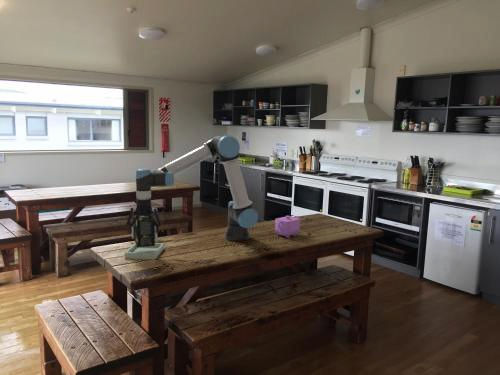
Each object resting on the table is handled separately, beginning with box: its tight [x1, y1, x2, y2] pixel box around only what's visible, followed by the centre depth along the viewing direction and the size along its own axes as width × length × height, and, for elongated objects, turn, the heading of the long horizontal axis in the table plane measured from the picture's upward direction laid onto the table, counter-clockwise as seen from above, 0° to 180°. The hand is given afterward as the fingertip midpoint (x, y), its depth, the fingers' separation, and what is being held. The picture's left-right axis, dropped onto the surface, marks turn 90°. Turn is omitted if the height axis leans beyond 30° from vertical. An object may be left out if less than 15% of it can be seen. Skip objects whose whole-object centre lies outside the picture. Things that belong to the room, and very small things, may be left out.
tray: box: [124, 242, 165, 260], centre depth 228 cm, size 16×18×3 cm
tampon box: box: [134, 215, 156, 247], centre depth 227 cm, size 11×9×15 cm
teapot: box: [274, 215, 301, 239], centre depth 268 cm, size 20×10×12 cm, turn 131°
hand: (144, 238), depth 227 cm, fingers closed on tampon box, 11 cm apart
